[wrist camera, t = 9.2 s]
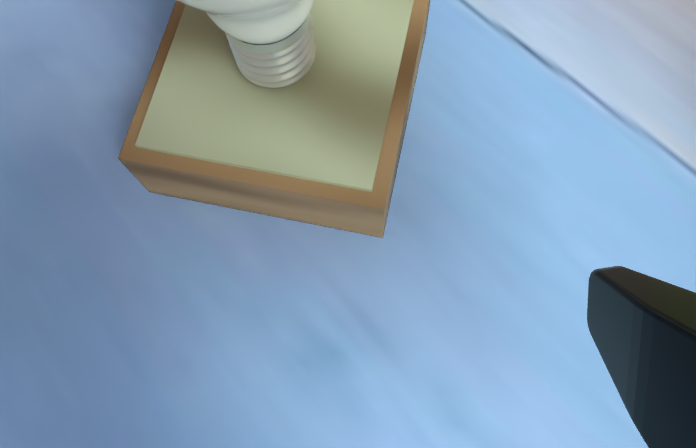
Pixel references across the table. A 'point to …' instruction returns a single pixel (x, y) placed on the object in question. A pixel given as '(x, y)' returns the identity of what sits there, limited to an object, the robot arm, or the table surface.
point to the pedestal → (283, 118)
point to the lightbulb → (265, 37)
